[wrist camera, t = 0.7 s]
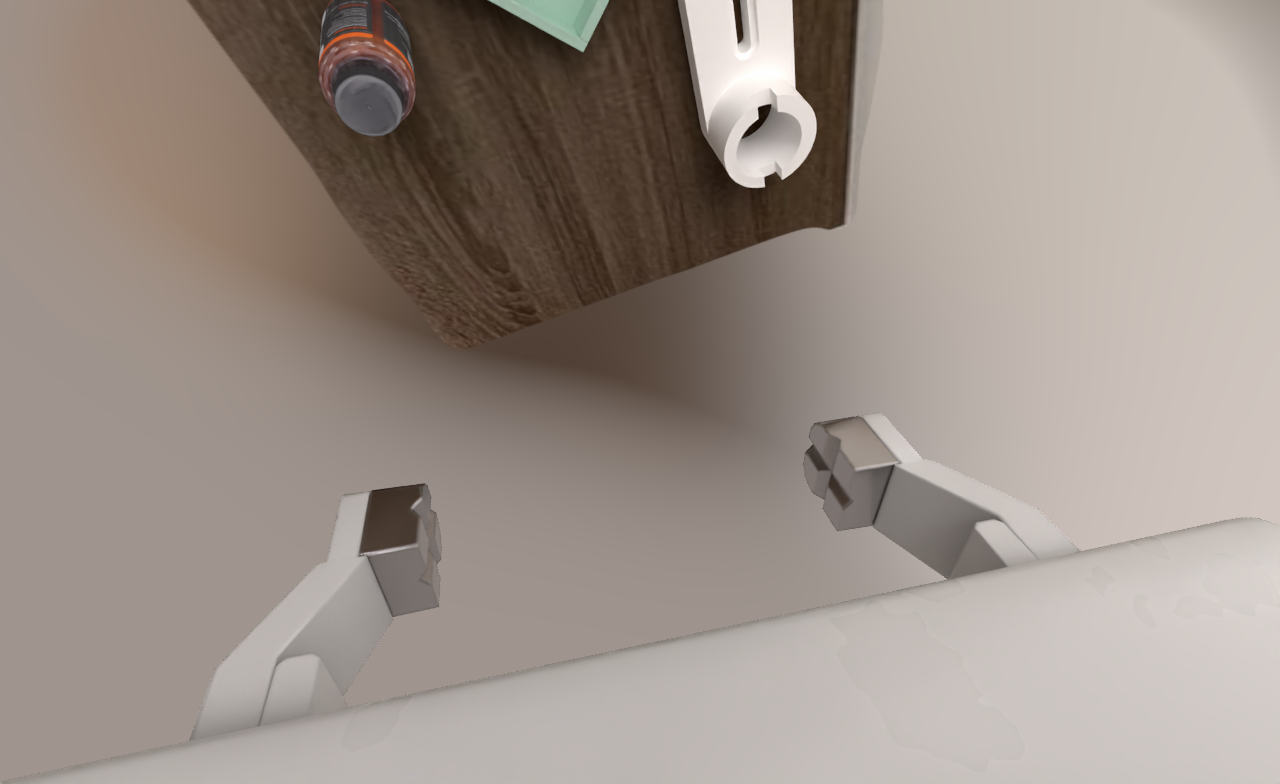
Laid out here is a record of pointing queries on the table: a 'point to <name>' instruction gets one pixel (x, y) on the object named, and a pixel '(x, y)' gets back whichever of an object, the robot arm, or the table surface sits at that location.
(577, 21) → the organiser
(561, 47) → the table surface
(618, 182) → the table surface
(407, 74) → the supplement bottle
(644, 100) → the table surface
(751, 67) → the bracket
